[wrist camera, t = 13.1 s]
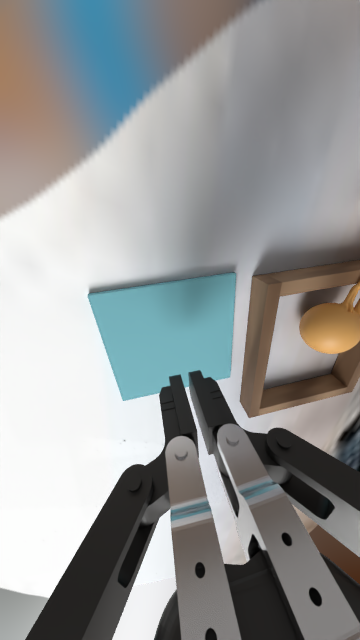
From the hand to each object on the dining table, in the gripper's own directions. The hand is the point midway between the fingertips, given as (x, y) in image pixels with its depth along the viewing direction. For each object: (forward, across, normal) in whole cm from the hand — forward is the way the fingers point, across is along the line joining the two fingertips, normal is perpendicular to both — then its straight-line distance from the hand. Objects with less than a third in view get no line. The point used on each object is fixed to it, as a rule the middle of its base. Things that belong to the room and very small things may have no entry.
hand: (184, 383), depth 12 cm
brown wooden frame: (+5, -12, +2) cm, 14 cm away
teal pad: (+5, 0, 0) cm, 5 cm away
